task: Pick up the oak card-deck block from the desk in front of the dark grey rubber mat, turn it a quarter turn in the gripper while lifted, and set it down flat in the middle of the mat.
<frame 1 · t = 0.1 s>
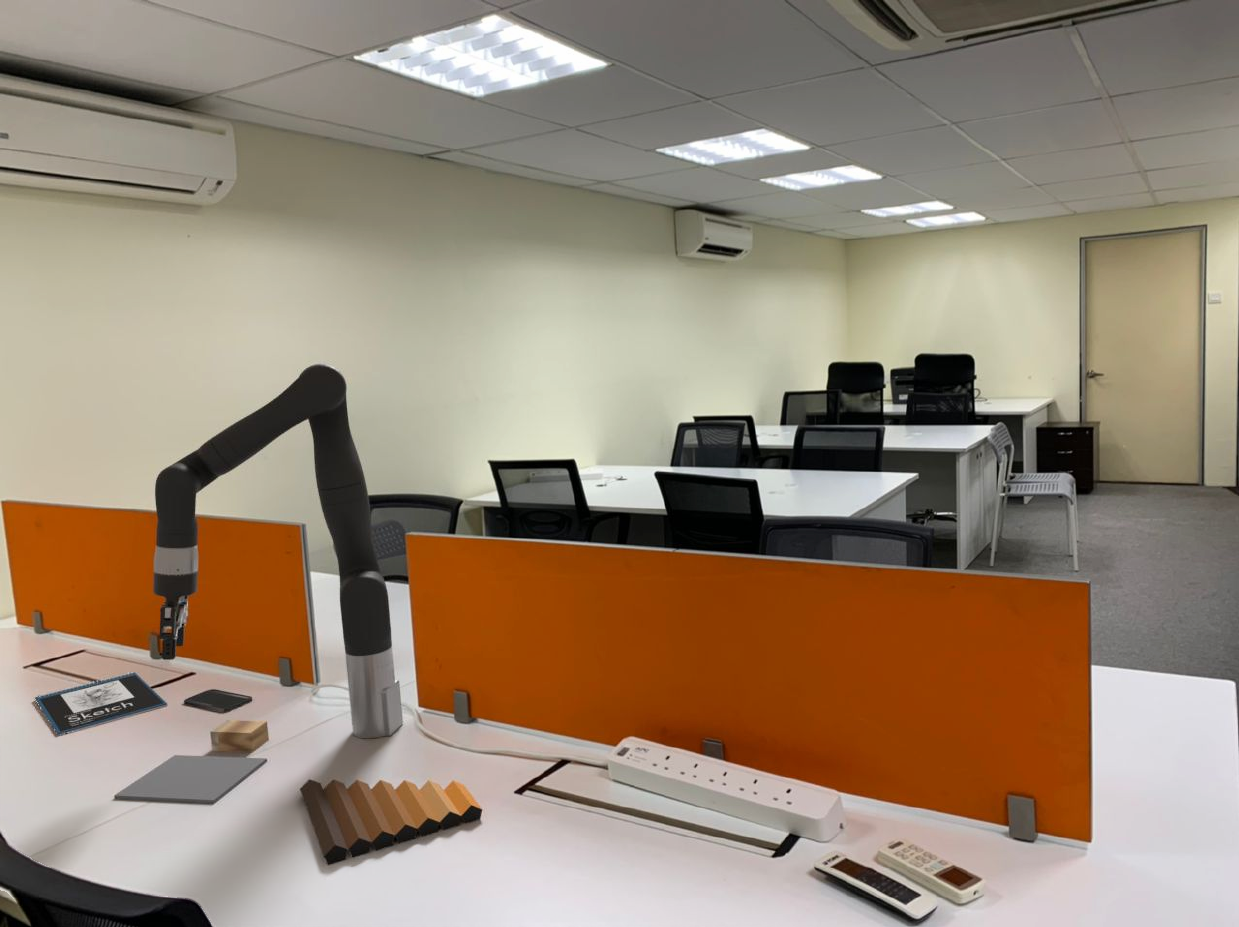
hand: (173, 652, 169), 22 cm above the table, tool pointing down, fingers open, 8 cm apart
ridged wooden panel: (389, 811, 150), on the table
phone: (218, 704, 203), on the table
mat: (193, 779, 164), on the table
sketchbook: (100, 705, 206), on the table
deck block: (240, 745, 178), on the table
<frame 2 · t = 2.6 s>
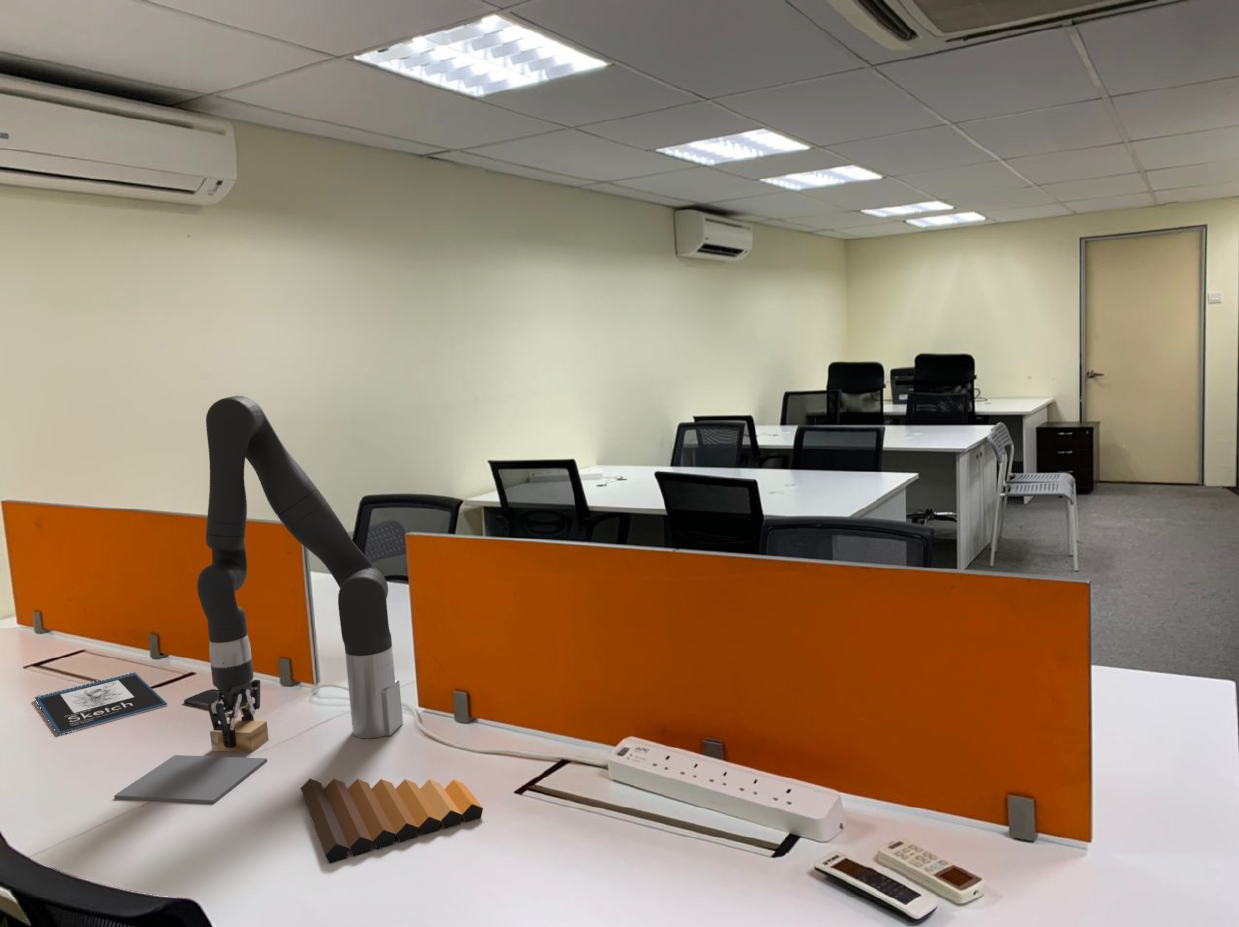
hand: (240, 739, 178), 1 cm above the table, tool pointing down, fingers closed on deck block, 5 cm apart
deck block: (240, 745, 178), on the table, touching gripper
everything else where it was.
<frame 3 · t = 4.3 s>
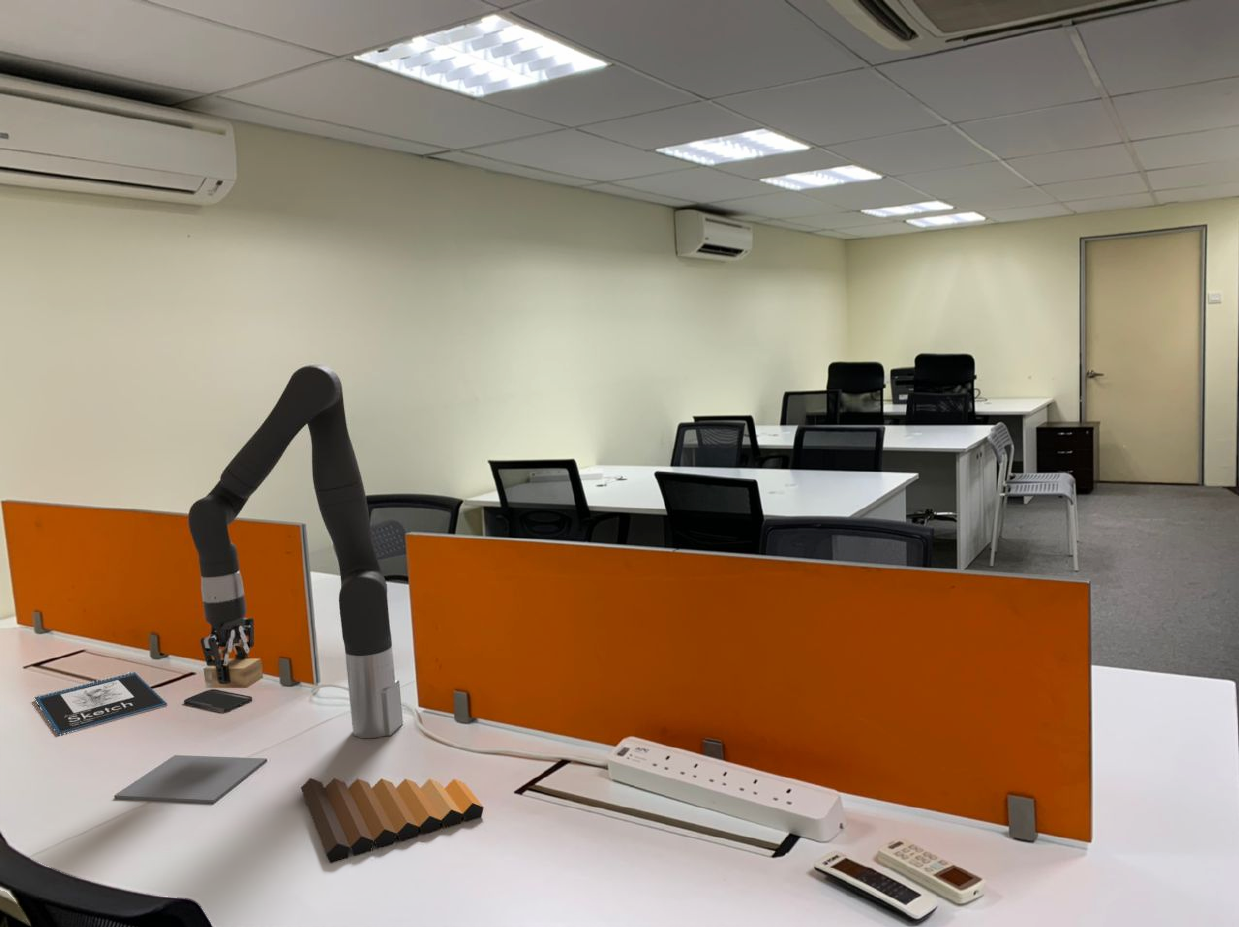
hand: (234, 677, 177), 14 cm above the table, tool pointing down, fingers closed on deck block, 5 cm apart
deck block: (234, 682, 177), point 13 cm above the table, touching gripper
everything else where it was.
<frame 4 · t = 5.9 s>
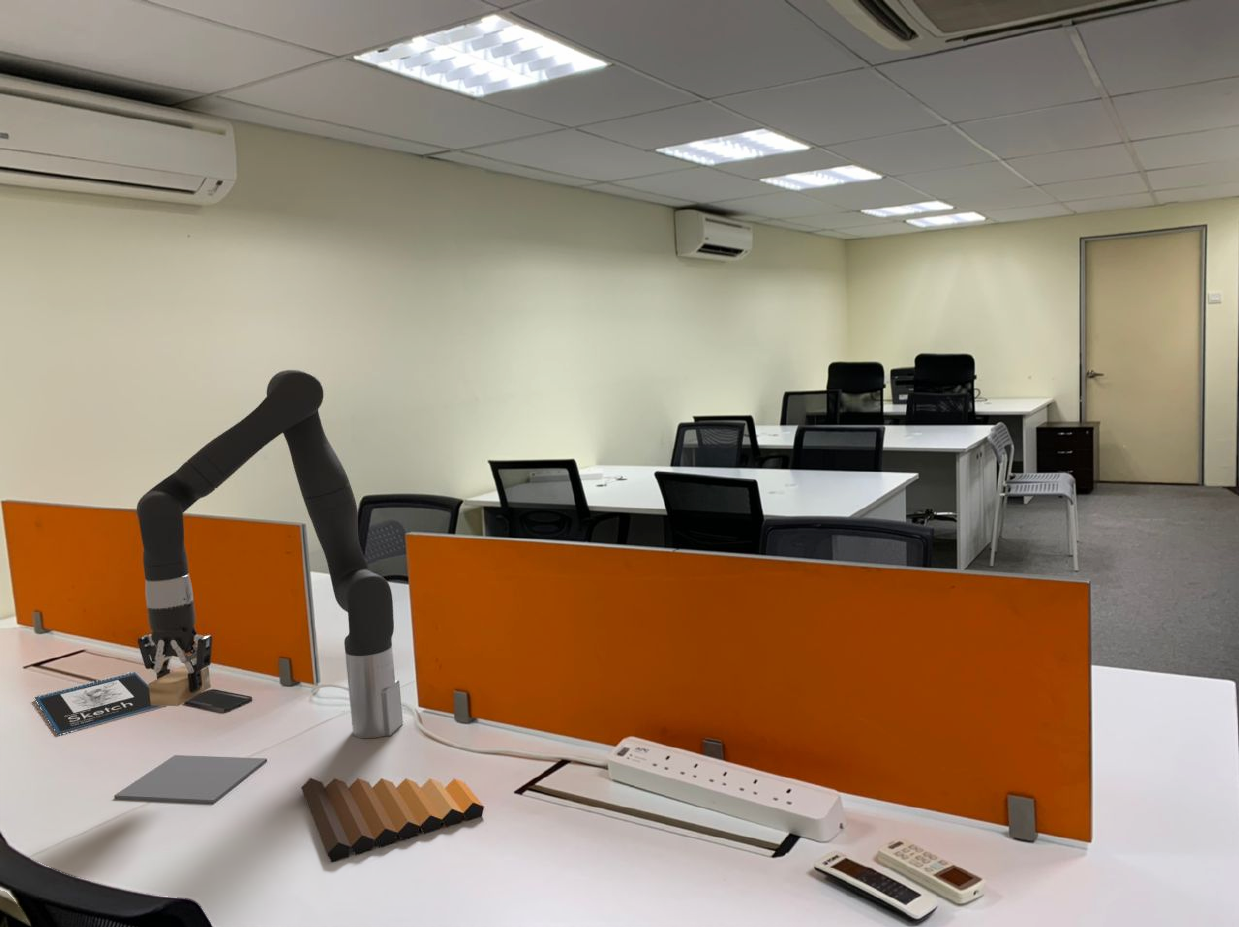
hand: (180, 690, 162), 17 cm above the table, tool pointing down, fingers closed on deck block, 5 cm apart
deck block: (181, 695, 162), point 16 cm above the table, touching gripper
everything else where it was.
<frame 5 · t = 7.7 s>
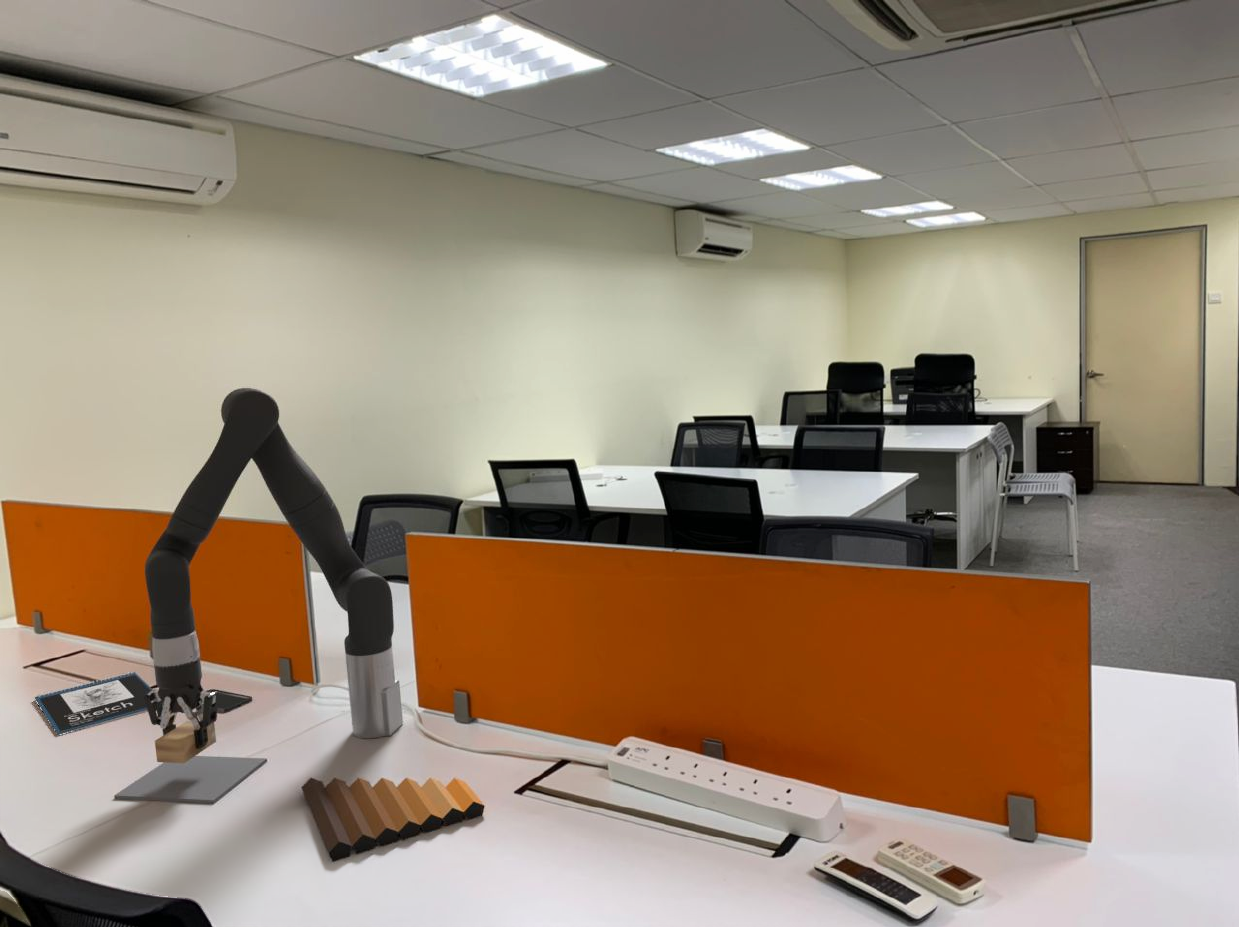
hand: (186, 745, 163), 7 cm above the table, tool pointing down, fingers closed on deck block, 5 cm apart
deck block: (187, 751, 163), point 6 cm above the table, touching gripper
everything else where it was.
when the fingers open (3 cm above the table, at t = 9.0 s): deck block drops 1 cm, resting on mat.
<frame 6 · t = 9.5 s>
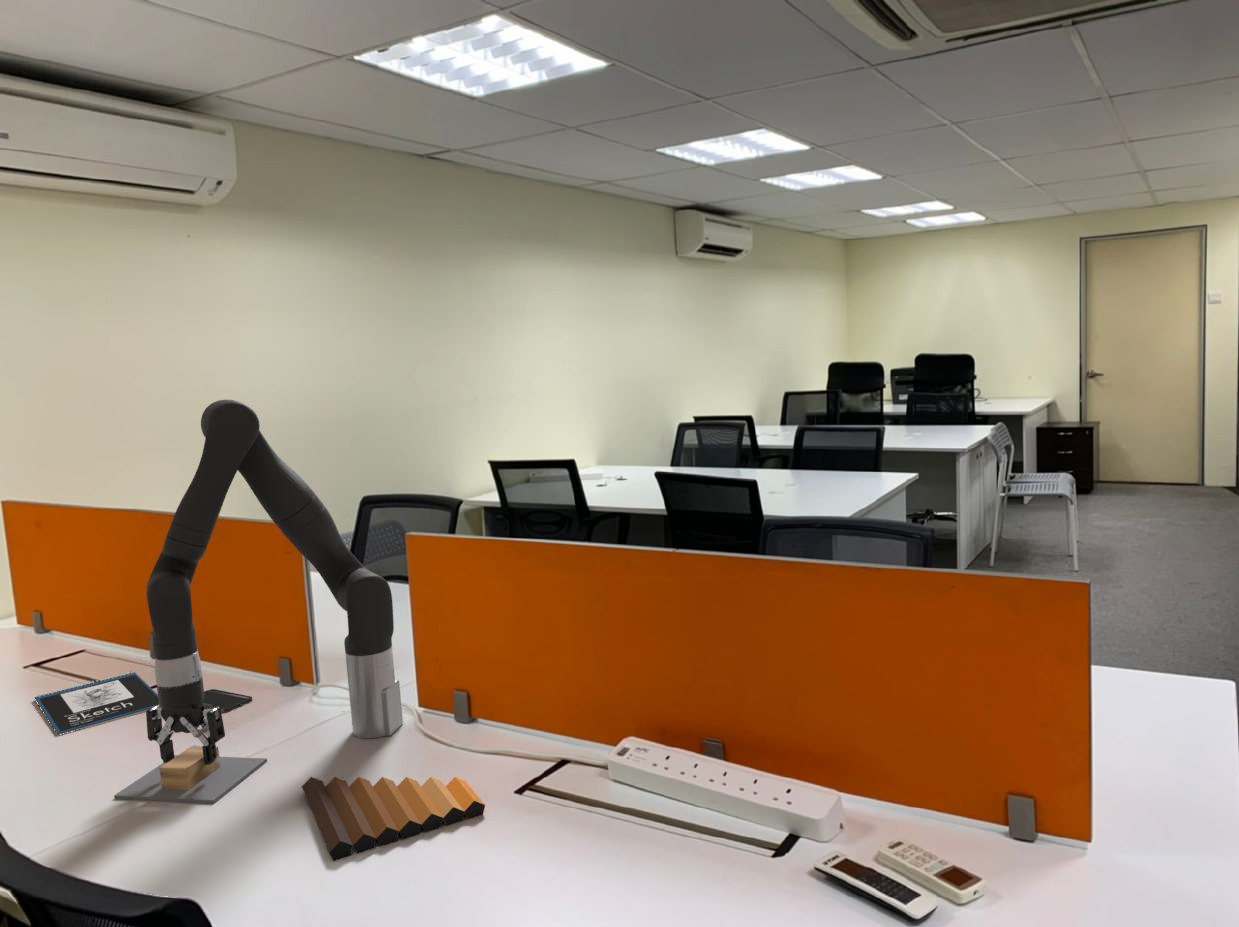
hand: (189, 762, 163), 4 cm above the table, tool pointing down, fingers open, 8 cm apart
deck block: (191, 777, 163), point 1 cm above the table, touching mat
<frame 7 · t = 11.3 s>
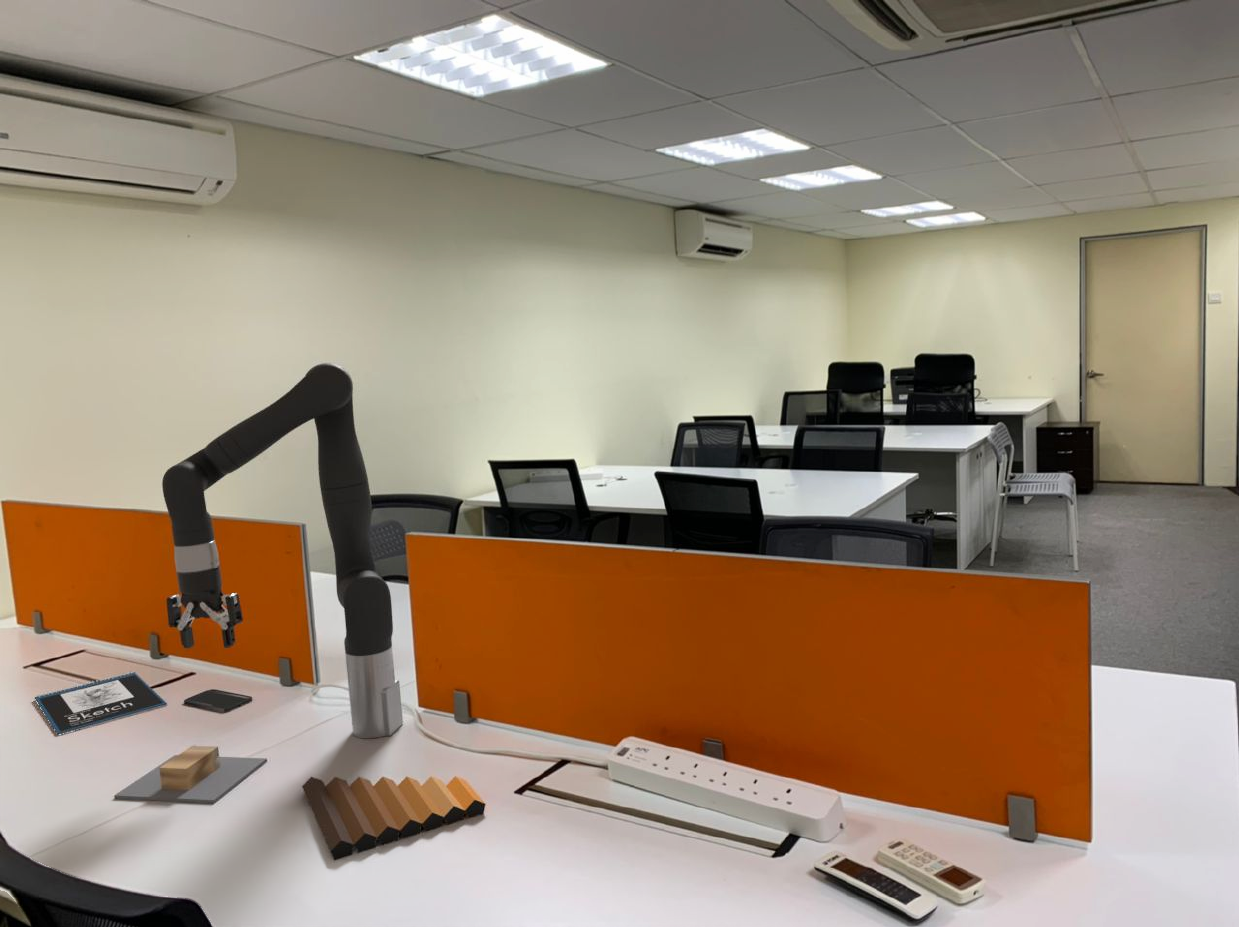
hand: (209, 647, 171), 22 cm above the table, tool pointing down, fingers open, 8 cm apart
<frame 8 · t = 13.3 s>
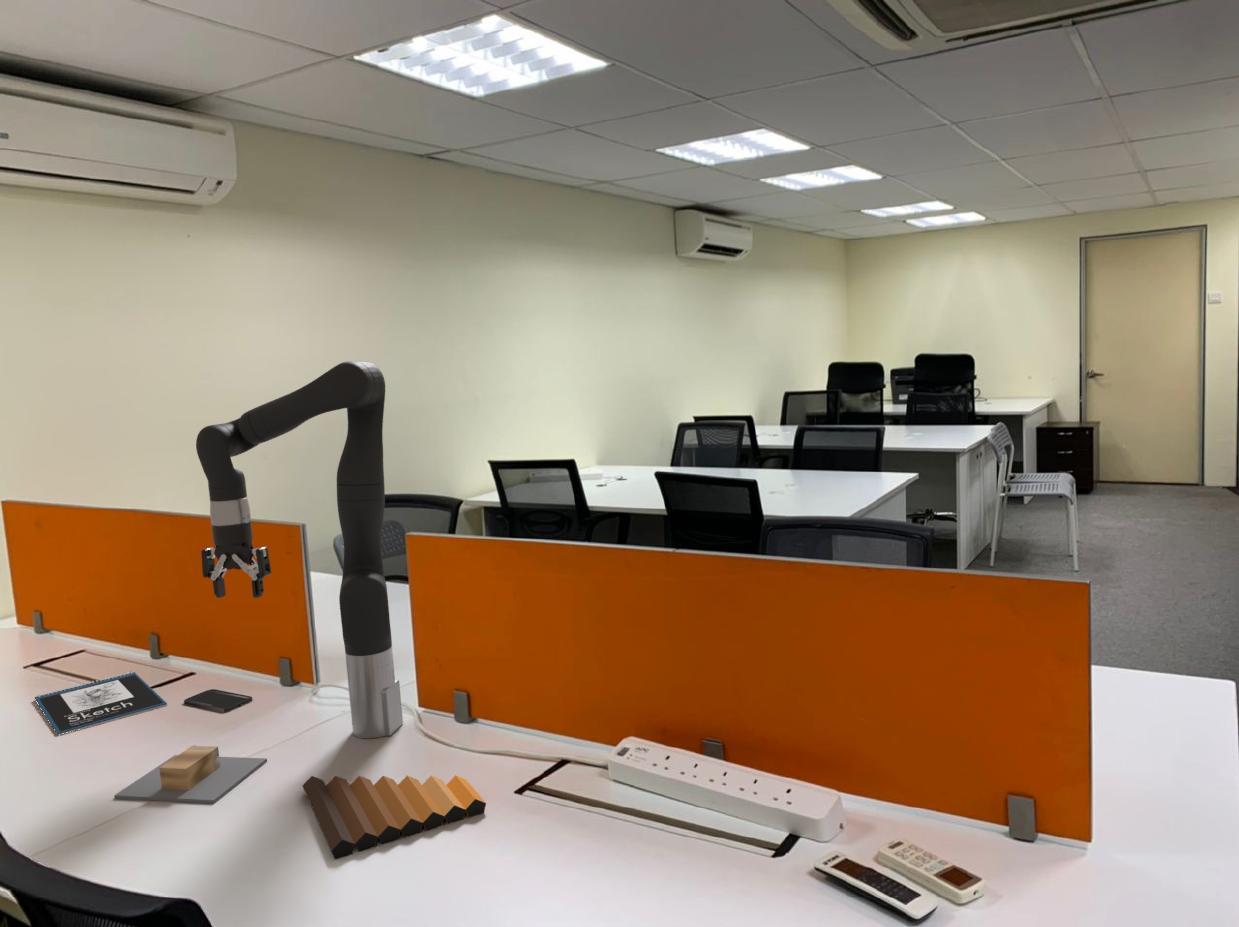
hand: (239, 596, 184), 28 cm above the table, tool pointing down, fingers open, 8 cm apart
at the end: deck block inside the target area on the mat (0.5 cm from its centre), point 0.6 cm above the mat's base; deck block tilted 0°; the gripper is holding nothing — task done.
